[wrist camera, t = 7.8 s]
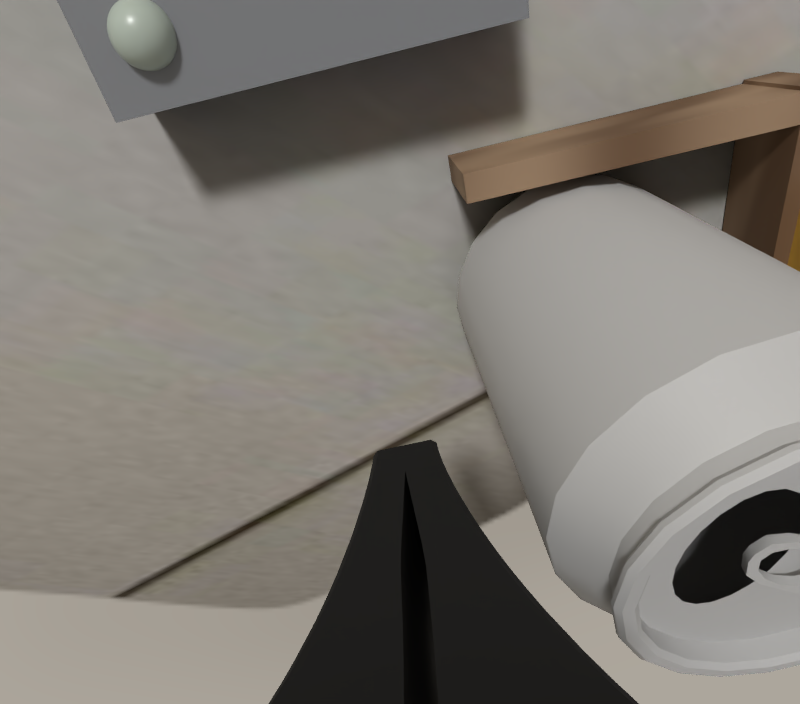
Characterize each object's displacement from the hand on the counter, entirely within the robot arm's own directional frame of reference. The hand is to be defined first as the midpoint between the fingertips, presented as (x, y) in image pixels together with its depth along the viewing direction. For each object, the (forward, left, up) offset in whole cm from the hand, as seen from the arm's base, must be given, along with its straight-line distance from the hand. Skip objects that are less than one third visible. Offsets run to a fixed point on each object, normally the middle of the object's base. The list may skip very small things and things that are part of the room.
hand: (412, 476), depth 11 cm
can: (-6, 0, -8) cm, 10 cm away
